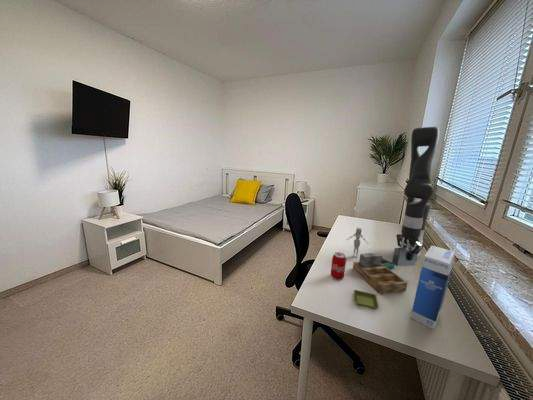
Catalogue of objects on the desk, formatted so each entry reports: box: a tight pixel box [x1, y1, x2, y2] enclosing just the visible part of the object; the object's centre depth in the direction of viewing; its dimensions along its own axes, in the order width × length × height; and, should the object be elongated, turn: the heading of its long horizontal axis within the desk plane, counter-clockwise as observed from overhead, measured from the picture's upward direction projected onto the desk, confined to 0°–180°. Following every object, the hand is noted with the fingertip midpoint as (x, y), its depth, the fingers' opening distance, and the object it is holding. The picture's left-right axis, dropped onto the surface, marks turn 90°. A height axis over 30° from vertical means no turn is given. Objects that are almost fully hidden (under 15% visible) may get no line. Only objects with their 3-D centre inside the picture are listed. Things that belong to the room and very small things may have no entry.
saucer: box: [353, 289, 380, 310], centre depth 87 cm, size 9×9×2 cm
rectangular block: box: [391, 247, 418, 268], centre depth 103 cm, size 10×3×8 cm, turn 100°
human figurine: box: [346, 227, 369, 259], centre depth 123 cm, size 12×4×18 cm, turn 66°
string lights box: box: [410, 245, 456, 330], centre depth 78 cm, size 13×8×26 cm, turn 133°
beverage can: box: [330, 252, 347, 281], centre depth 103 cm, size 6×6×12 cm
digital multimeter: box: [381, 257, 396, 270], centre depth 119 cm, size 7×15×3 cm, turn 25°
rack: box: [352, 252, 408, 294], centre depth 102 cm, size 14×20×10 cm
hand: (405, 258), depth 104 cm, fingers closed on rectangular block, 3 cm apart
